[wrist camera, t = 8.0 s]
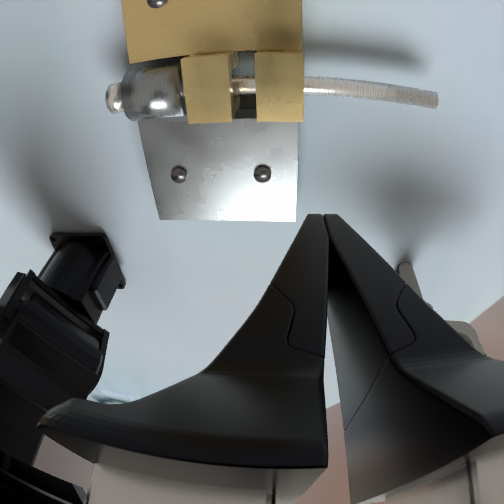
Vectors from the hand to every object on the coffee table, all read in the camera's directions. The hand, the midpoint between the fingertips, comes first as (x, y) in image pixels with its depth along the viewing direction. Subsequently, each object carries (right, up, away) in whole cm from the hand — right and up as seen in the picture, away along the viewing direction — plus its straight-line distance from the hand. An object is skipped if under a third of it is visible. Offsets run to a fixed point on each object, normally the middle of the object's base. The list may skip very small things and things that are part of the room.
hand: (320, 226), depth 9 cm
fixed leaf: (-1, +6, +10) cm, 12 cm away
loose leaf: (-4, +12, +5) cm, 13 cm away
